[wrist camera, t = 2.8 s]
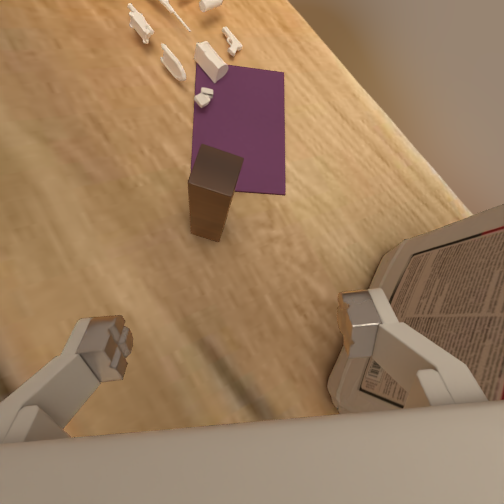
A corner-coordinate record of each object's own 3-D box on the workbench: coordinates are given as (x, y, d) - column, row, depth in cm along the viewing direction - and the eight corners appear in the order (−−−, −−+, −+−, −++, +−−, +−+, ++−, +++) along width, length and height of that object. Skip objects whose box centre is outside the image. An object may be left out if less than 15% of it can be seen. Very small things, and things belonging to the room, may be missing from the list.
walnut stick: (218, 242, 39) (231, 197, 25) (190, 233, 39) (187, 182, 24) (227, 215, 40) (244, 157, 26) (199, 207, 40) (201, 142, 25)
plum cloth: (190, 188, 40) (190, 187, 40) (196, 62, 44) (196, 60, 43) (284, 195, 42) (285, 194, 42) (283, 73, 46) (284, 72, 45)
